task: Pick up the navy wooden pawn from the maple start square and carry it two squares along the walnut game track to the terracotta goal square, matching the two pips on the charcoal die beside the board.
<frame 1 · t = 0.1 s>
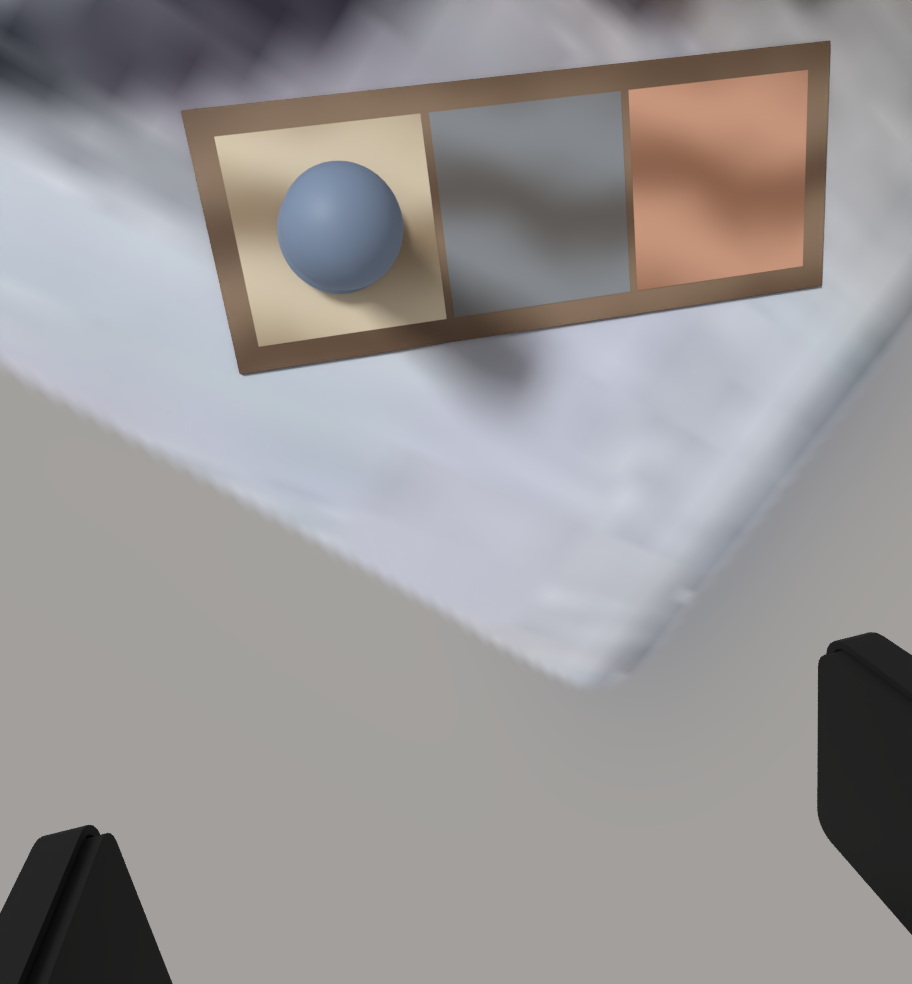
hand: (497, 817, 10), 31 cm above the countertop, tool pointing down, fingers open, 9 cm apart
pawn: (337, 233, 36), resting on board
board: (534, 207, 37), on the countertop
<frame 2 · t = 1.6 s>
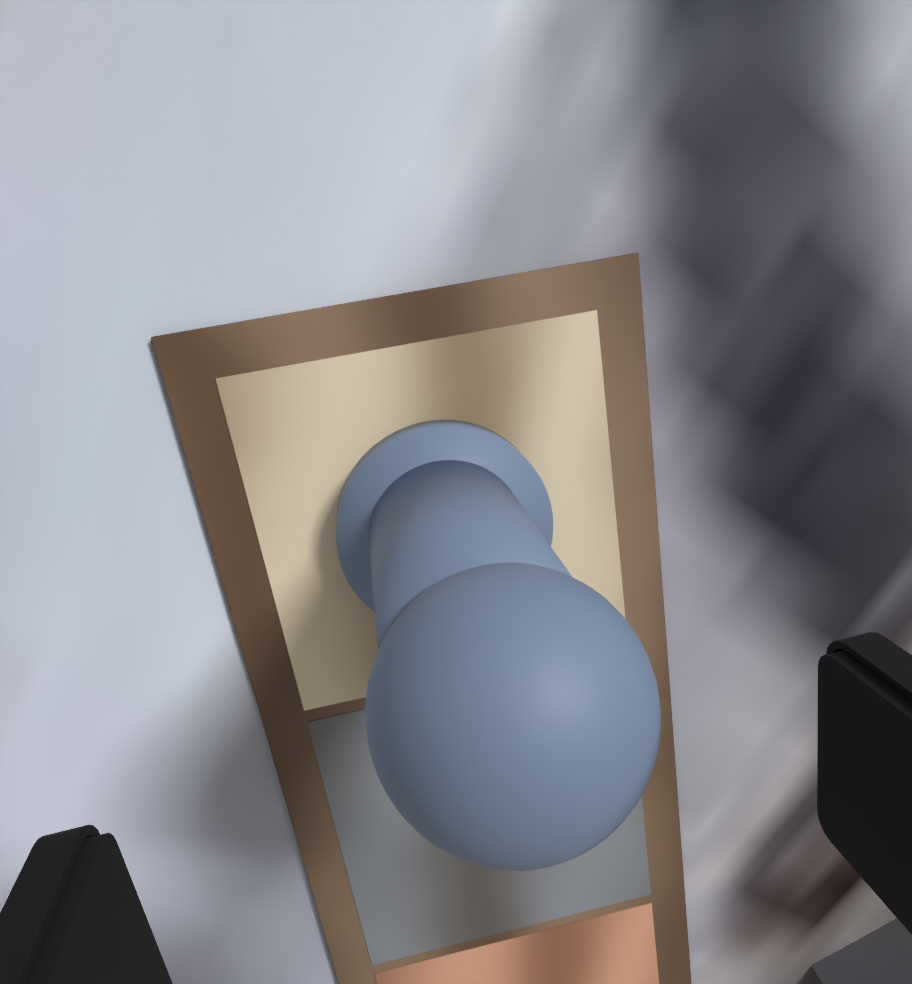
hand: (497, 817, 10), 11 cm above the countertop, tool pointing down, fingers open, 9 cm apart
die: (887, 970, 28), on the countertop
pawn: (442, 522, 20), resting on board
board: (492, 811, 23), on the countertop
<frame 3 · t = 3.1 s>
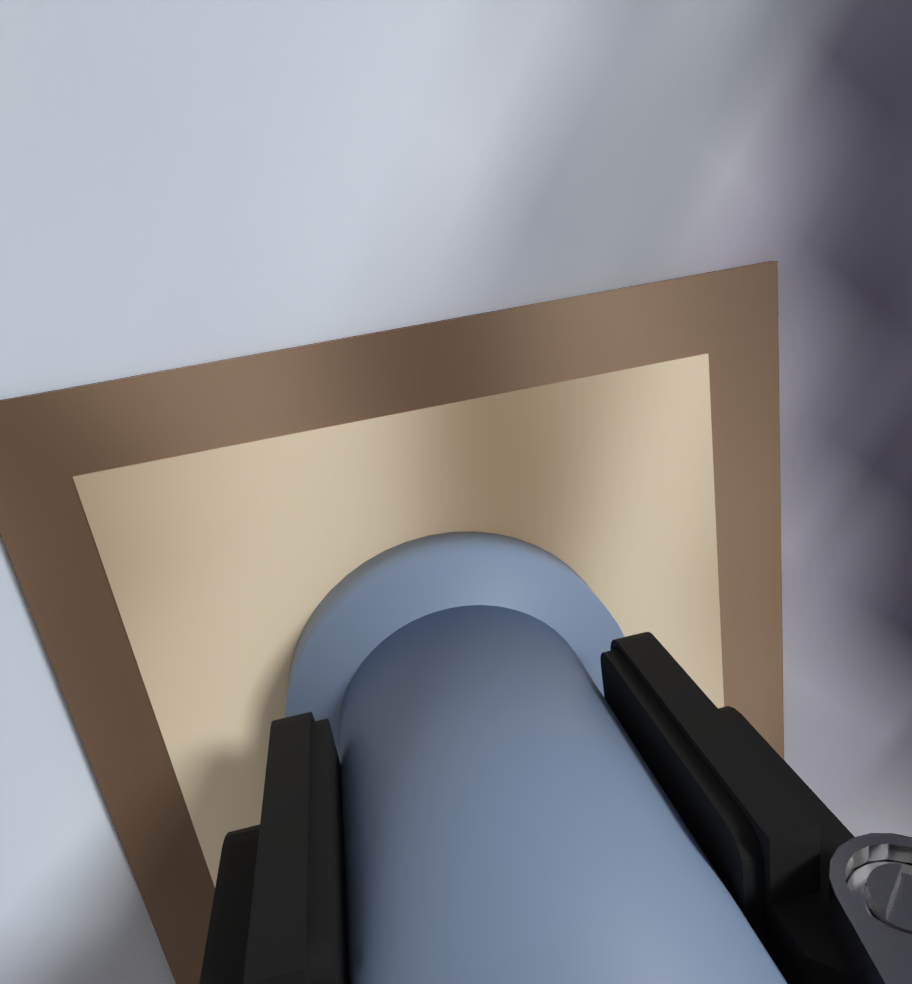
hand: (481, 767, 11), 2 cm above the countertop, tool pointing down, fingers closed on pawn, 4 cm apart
pawn: (456, 686, 12), resting on board, touching gripper
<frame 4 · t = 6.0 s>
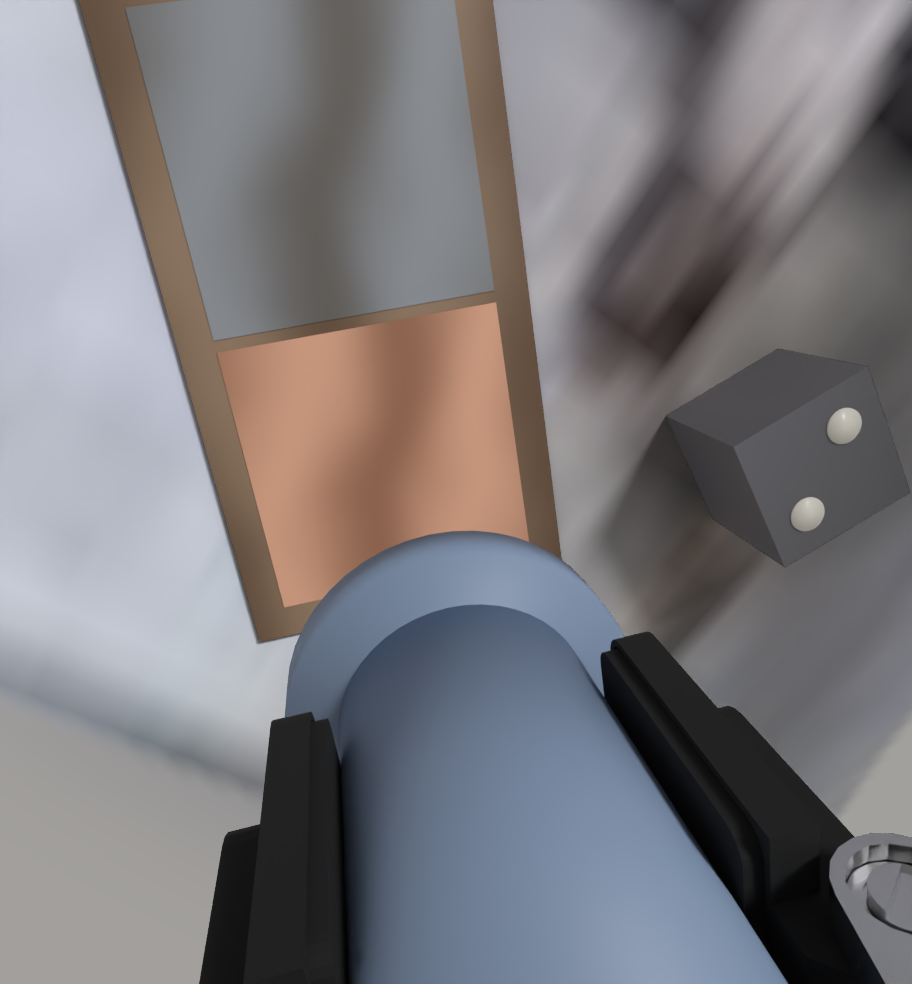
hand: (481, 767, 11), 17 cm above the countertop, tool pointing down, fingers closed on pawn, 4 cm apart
die: (743, 436, 29), on the countertop
pawn: (456, 685, 12), point 15 cm above the countertop, touching gripper
board: (326, 162, 23), on the countertop
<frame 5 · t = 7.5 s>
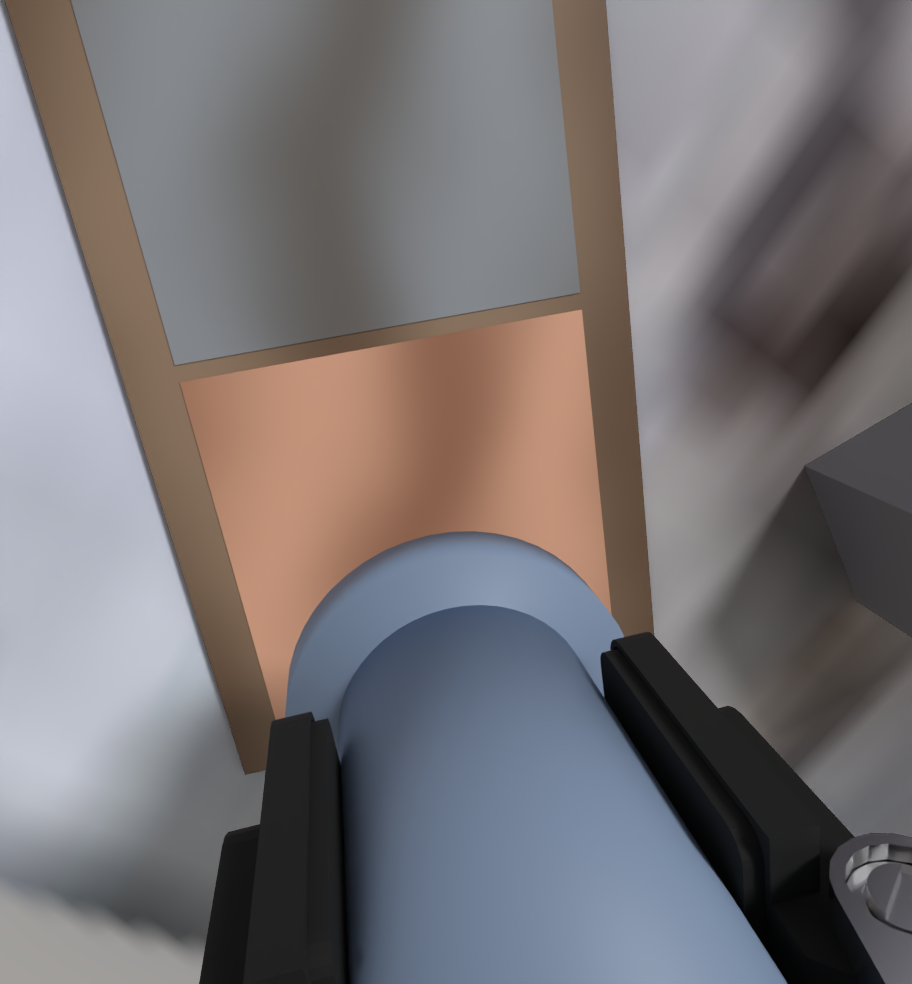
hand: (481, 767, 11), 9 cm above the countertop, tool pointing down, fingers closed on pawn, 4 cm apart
die: (905, 491, 21), on the countertop
pawn: (456, 686, 12), point 7 cm above the countertop, touching gripper
board: (340, 101, 16), on the countertop
when the fingers open (4 cm above the countertop, at t = 8.9 s): pawn drops 1 cm, resting on board.
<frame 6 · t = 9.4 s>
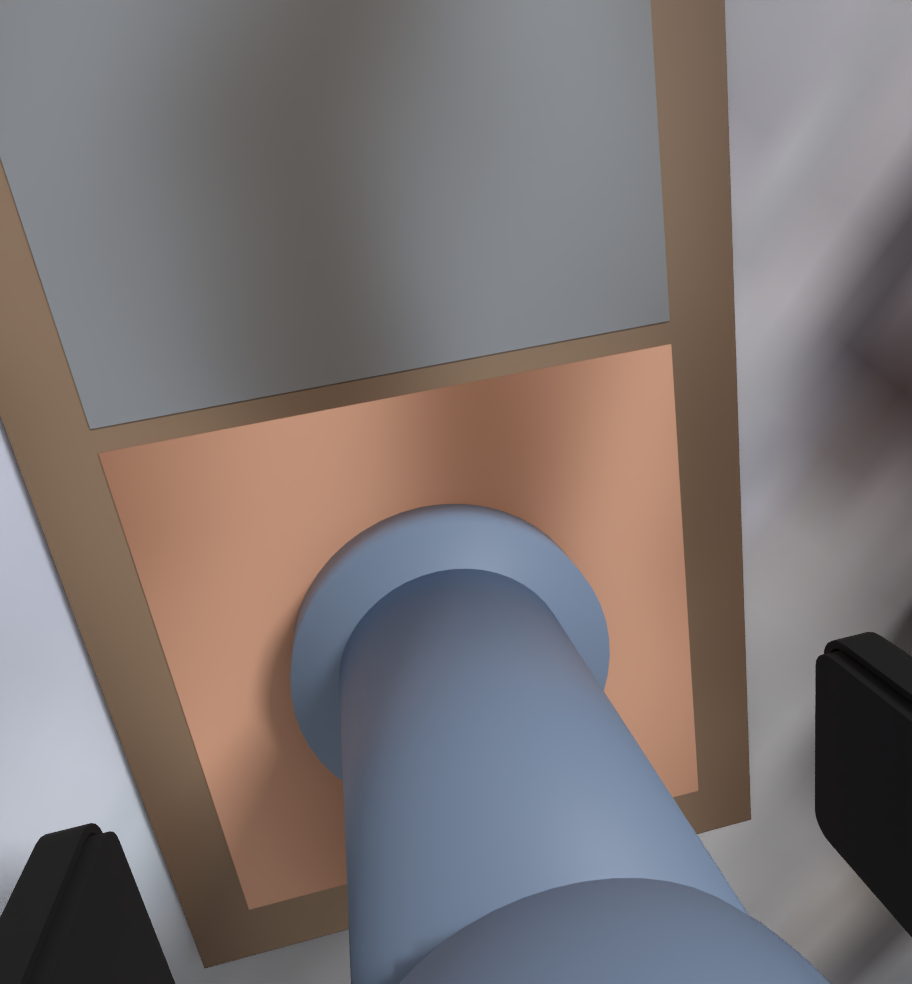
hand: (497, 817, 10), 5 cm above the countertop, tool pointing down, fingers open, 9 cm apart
pawn: (446, 646, 14), resting on board
board: (330, 42, 11), on the countertop
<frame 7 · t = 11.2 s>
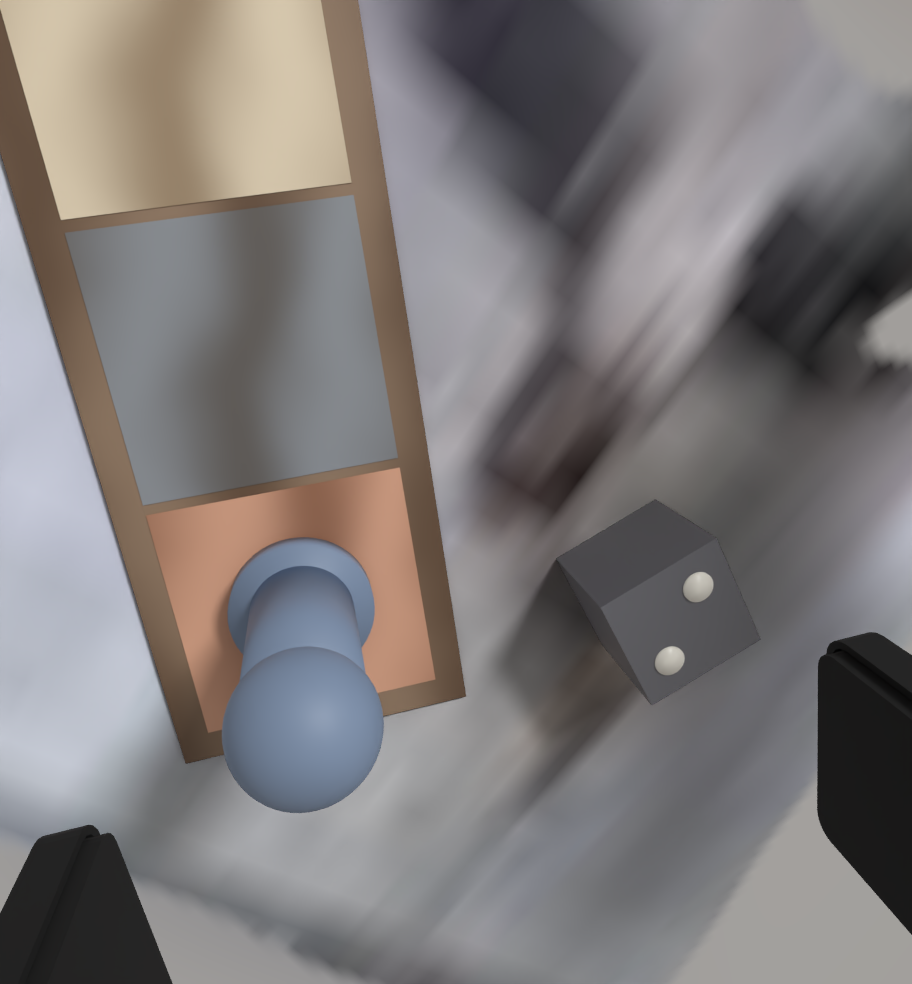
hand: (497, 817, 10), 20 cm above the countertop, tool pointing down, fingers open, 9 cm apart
die: (627, 573, 33), on the countertop
pawn: (302, 602, 30), resting on board
board: (245, 354, 27), on the countertop
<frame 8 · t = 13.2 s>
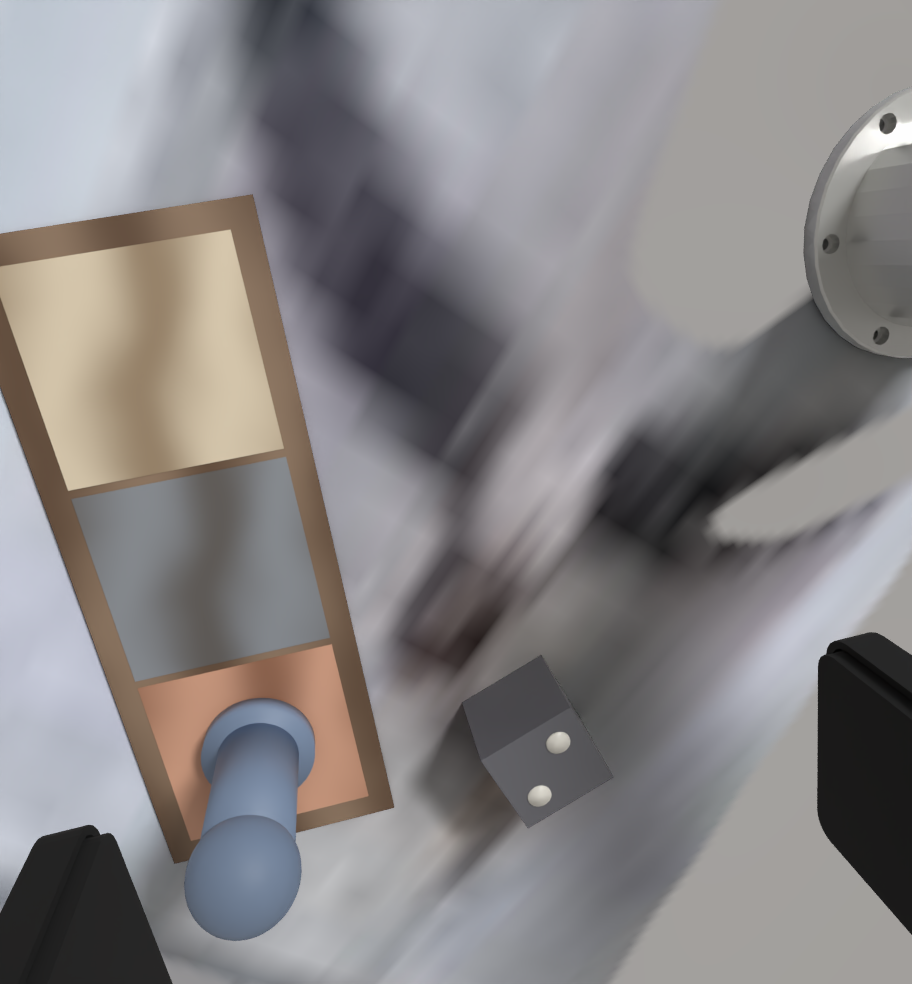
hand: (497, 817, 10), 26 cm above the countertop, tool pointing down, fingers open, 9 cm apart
die: (522, 710, 41), on the countertop
pawn: (260, 744, 38), resting on board
board: (208, 571, 35), on the countertop
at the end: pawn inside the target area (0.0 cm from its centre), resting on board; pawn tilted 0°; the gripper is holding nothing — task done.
